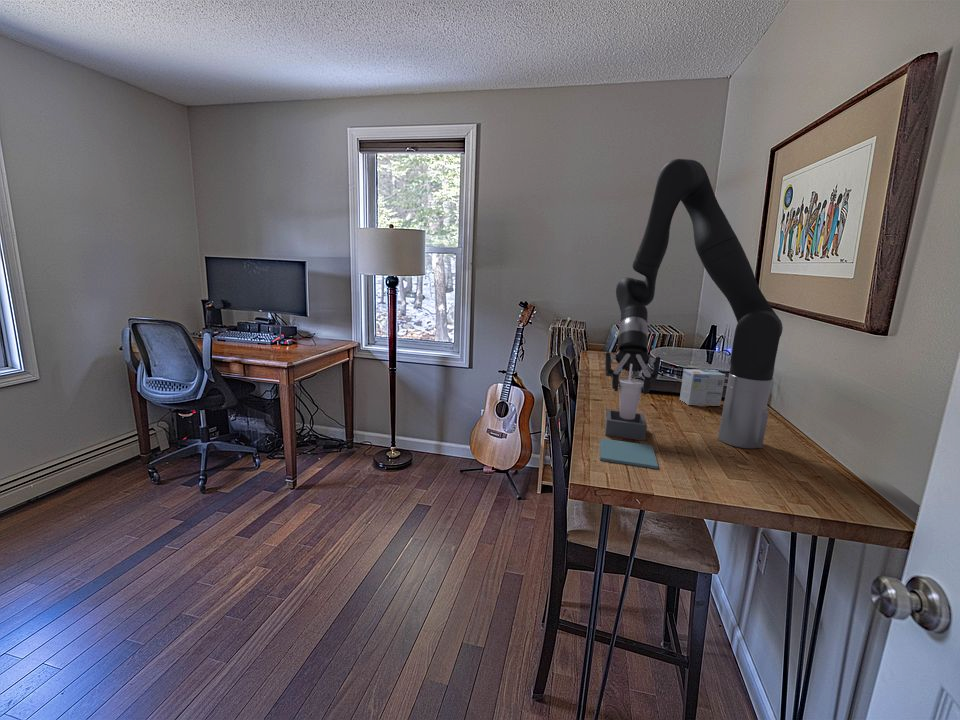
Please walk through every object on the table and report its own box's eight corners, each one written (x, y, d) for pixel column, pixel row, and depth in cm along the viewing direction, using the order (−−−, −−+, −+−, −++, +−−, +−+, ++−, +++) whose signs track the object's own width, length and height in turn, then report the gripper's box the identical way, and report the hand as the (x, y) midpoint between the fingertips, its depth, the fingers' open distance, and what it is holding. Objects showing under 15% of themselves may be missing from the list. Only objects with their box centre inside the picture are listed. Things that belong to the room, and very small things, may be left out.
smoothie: (609, 414, 122) (614, 361, 119) (628, 412, 124) (634, 360, 121) (625, 422, 116) (631, 367, 113) (645, 419, 118) (652, 366, 115)
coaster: (651, 447, 111) (652, 445, 111) (657, 468, 99) (658, 466, 99) (600, 440, 114) (600, 438, 113) (600, 460, 102) (600, 457, 102)
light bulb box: (709, 401, 154) (714, 369, 152) (720, 407, 147) (726, 374, 145) (678, 400, 153) (683, 368, 151) (688, 406, 146) (693, 373, 144)
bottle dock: (641, 427, 124) (643, 413, 123) (644, 440, 115) (647, 425, 114) (604, 423, 126) (606, 408, 125) (605, 435, 117) (607, 420, 116)
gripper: (606, 327, 124) (602, 380, 115) (663, 331, 121) (663, 386, 112) (604, 343, 130) (600, 395, 122) (659, 348, 127) (658, 401, 118)
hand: (630, 391), depth 117 cm, fingers closed on smoothie, 6 cm apart
